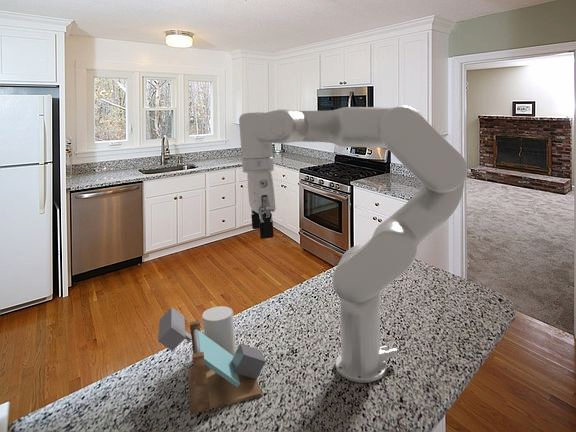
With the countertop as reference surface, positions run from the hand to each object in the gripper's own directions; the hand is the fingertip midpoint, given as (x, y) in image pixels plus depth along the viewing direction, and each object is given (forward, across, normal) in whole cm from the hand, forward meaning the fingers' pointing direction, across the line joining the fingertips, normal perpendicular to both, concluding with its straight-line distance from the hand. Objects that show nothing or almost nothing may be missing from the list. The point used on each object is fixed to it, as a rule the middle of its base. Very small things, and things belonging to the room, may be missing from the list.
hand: (262, 232), depth 95 cm
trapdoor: (+25, -8, +20) cm, 33 cm away
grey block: (+28, -8, +10) cm, 31 cm away
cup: (+34, +5, +13) cm, 37 cm away
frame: (+34, -8, +14) cm, 38 cm away
